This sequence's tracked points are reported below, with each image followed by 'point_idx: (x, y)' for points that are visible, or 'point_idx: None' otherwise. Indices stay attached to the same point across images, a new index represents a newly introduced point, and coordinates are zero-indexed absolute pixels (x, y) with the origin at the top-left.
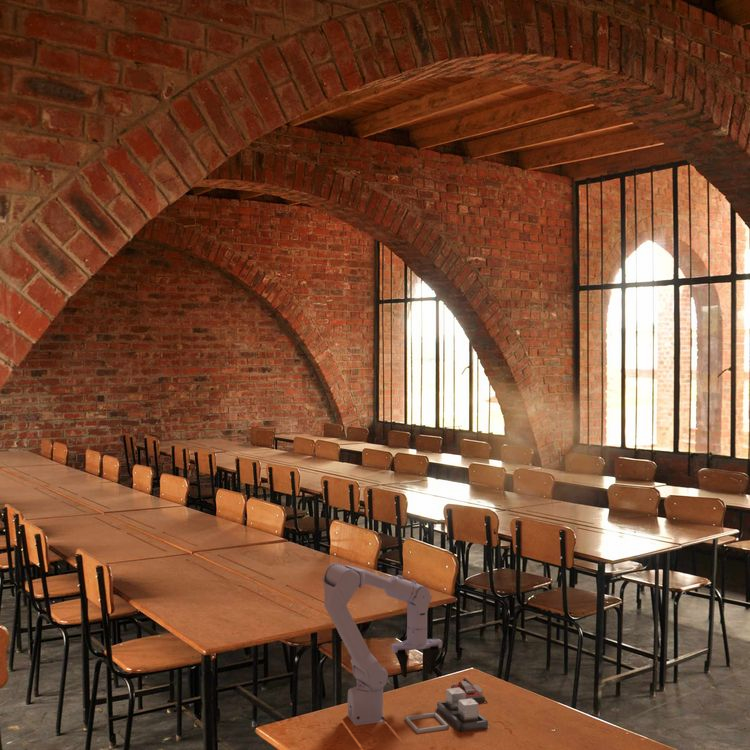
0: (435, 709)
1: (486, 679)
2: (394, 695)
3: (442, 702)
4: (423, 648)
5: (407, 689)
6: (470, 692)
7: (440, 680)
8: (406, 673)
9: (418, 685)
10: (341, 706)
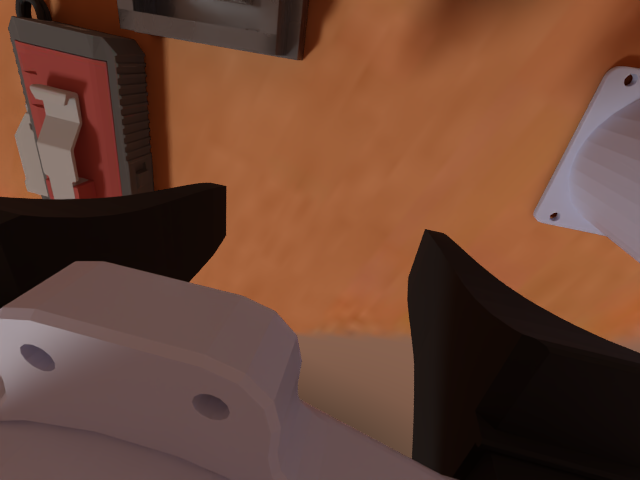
0: (297, 52)
1: None
2: (358, 307)
3: (247, 36)
4: (120, 271)
5: (286, 321)
6: (60, 89)
7: None
8: (436, 239)
9: None
10: (620, 335)
